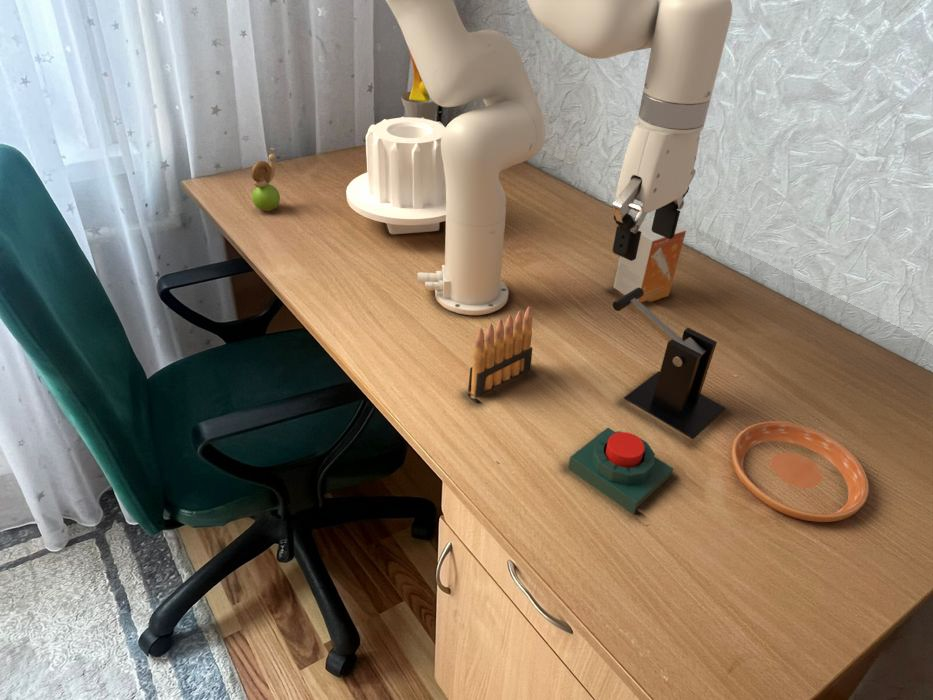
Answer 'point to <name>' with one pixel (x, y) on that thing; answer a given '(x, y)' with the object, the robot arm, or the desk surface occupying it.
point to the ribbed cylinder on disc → (402, 176)
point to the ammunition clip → (501, 354)
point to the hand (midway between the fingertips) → (643, 244)
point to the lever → (653, 319)
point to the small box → (650, 264)
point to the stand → (680, 387)
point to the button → (624, 449)
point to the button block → (619, 472)
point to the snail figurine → (265, 184)
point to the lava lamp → (418, 99)
